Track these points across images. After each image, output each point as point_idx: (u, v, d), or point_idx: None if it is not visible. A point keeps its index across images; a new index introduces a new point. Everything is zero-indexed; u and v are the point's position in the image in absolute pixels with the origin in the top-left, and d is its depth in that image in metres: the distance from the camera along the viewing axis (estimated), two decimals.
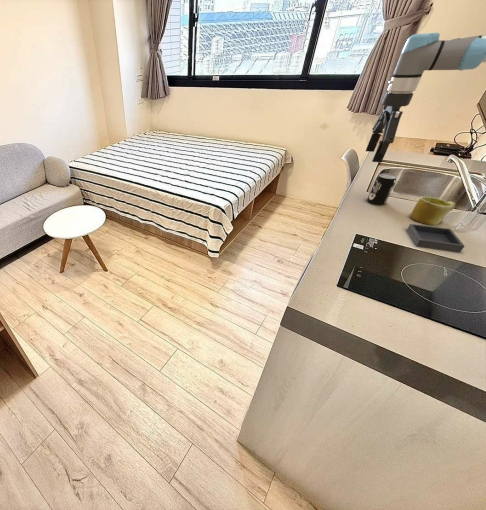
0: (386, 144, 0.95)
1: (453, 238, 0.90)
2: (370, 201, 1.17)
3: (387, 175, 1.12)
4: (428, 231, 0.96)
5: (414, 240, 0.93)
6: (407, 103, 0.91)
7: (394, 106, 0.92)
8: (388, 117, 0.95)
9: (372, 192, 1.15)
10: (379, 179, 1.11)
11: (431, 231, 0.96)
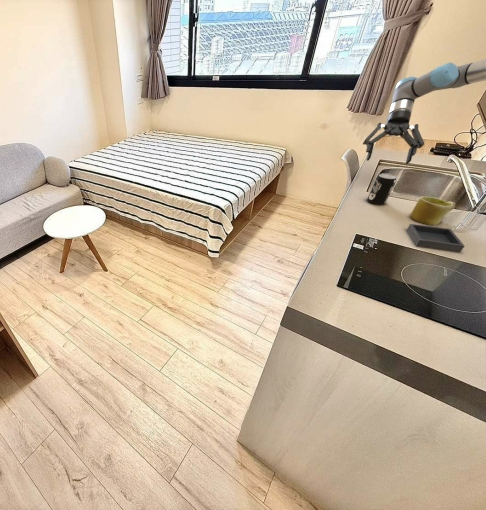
0: (367, 144, 1.20)
1: (453, 238, 0.90)
2: (370, 201, 1.17)
3: (387, 175, 1.12)
4: (428, 231, 0.96)
5: (414, 240, 0.93)
6: (393, 117, 1.16)
7: (386, 123, 1.20)
8: None
9: (372, 192, 1.15)
10: (379, 179, 1.11)
11: (431, 231, 0.96)
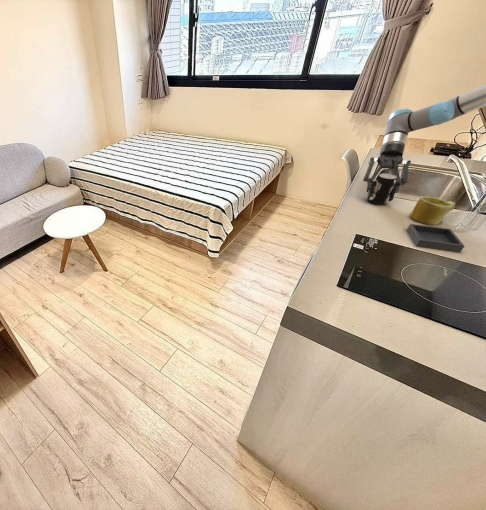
0: (368, 181, 1.16)
1: (453, 238, 0.90)
2: (370, 201, 1.17)
3: (387, 175, 1.12)
4: (428, 231, 0.96)
5: (414, 240, 0.93)
6: (386, 149, 1.14)
7: (379, 155, 1.17)
8: None
9: (372, 192, 1.15)
10: (379, 179, 1.11)
11: (431, 231, 0.96)
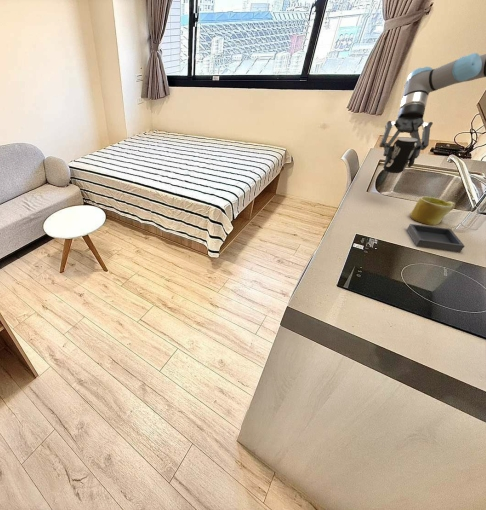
0: (385, 147, 1.07)
1: (453, 238, 0.90)
2: (387, 168, 1.07)
3: (406, 138, 1.03)
4: (428, 231, 0.96)
5: (414, 240, 0.93)
6: (404, 111, 1.04)
7: None
8: None
9: (390, 158, 1.06)
10: (398, 143, 1.02)
11: (431, 231, 0.96)
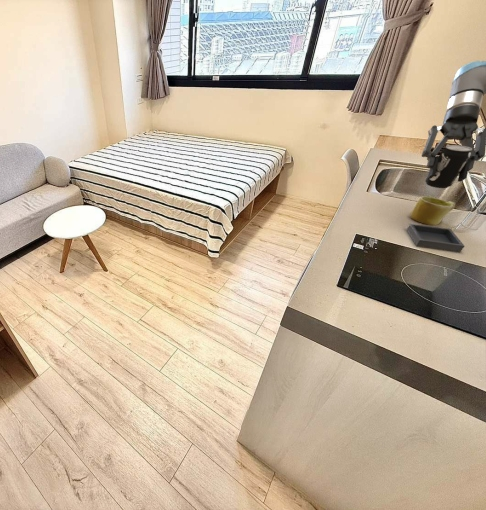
0: (429, 157, 0.89)
1: (453, 238, 0.90)
2: (431, 182, 0.90)
3: (457, 147, 0.85)
4: (428, 231, 0.96)
5: (414, 240, 0.93)
6: (454, 114, 0.87)
7: (443, 123, 0.90)
8: None
9: None
10: (447, 152, 0.85)
11: (431, 231, 0.96)
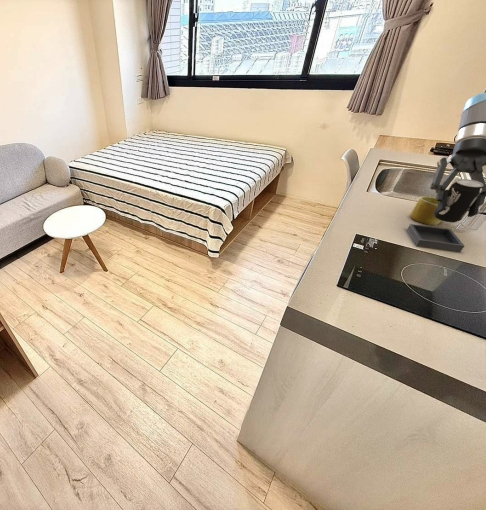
0: (438, 190, 0.86)
1: (453, 238, 0.90)
2: (440, 216, 0.87)
3: (468, 182, 0.82)
4: (428, 231, 0.96)
5: (414, 240, 0.93)
6: (464, 147, 0.84)
7: (452, 155, 0.87)
8: None
9: None
10: (457, 187, 0.82)
11: (431, 231, 0.96)
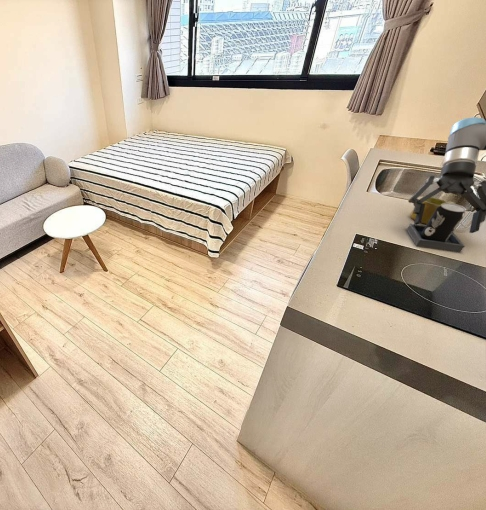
0: (415, 203, 0.92)
1: (453, 238, 0.90)
2: (427, 237, 0.92)
3: (451, 206, 0.87)
4: None
5: (414, 240, 0.93)
6: (451, 169, 0.88)
7: (440, 176, 0.92)
8: None
9: (430, 226, 0.90)
10: (442, 211, 0.87)
11: None
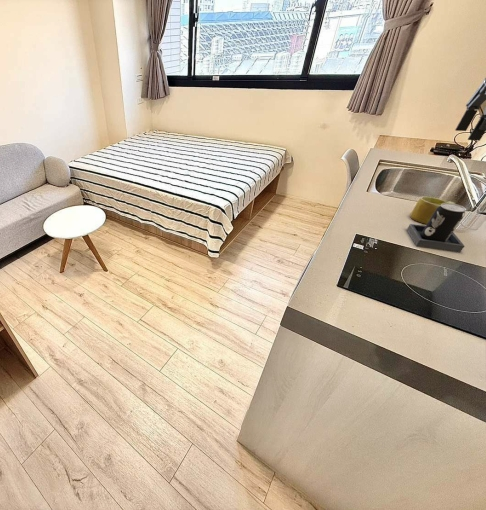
0: None
1: (453, 238, 0.90)
2: (427, 237, 0.92)
3: (451, 206, 0.87)
4: None
5: (414, 240, 0.93)
6: None
7: None
8: None
9: (430, 226, 0.90)
10: (442, 211, 0.87)
11: None
